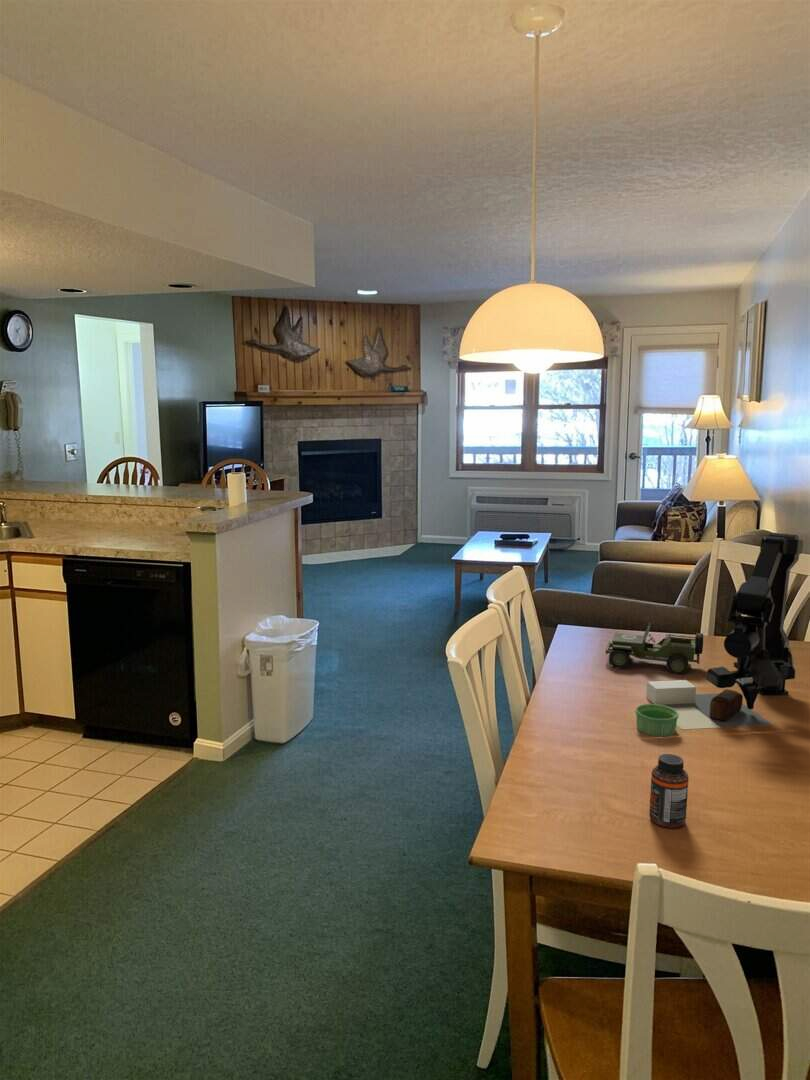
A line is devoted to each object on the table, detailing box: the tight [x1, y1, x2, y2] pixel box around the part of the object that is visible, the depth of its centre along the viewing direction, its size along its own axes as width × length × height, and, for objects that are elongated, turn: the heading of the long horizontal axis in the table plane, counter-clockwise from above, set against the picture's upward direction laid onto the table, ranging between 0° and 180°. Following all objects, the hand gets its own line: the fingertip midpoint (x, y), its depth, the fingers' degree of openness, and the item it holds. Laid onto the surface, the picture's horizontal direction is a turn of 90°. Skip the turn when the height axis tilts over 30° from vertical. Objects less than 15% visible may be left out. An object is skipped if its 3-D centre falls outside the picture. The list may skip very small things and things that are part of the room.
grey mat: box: [646, 692, 774, 730], centre depth 182 cm, size 22×20×1 cm
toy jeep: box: [605, 622, 704, 676], centre depth 214 cm, size 12×25×11 cm, turn 71°
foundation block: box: [645, 679, 697, 705], centre depth 188 cm, size 10×5×4 cm, turn 97°
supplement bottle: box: [648, 753, 689, 829], centre depth 132 cm, size 6×6×11 cm
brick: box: [710, 688, 744, 722], centre depth 179 cm, size 11×4×5 cm, turn 139°
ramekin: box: [635, 703, 679, 738], centre depth 171 cm, size 9×9×4 cm
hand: (750, 708), depth 180 cm, fingers closed
